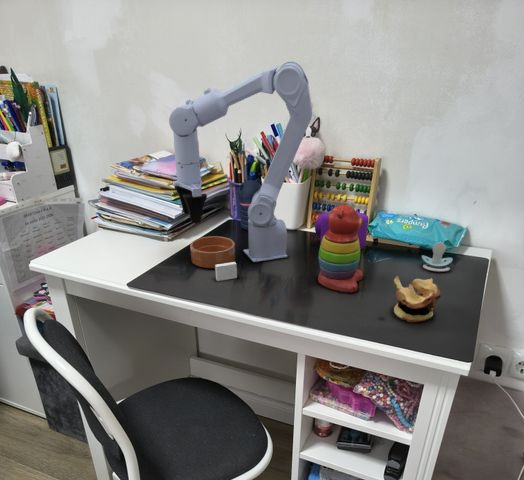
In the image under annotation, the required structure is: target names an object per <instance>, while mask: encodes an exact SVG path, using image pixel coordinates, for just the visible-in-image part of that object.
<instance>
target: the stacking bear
mask: <svg viewBox="0 0 524 480" xmlns="http://www.w3.org/2000/svg"><path fill="white" fill-rule="evenodd" d="M329 212H330V213H329ZM329 212H328V213H329V215H328V225H329V229H330V230H328V231H327V232H326V234H325V235H324V236H323V239H322V242H321V243H320V245H319V249H318V264H319V270H320V271H319V273H318V276H317V281H318V283H319V284H320V285H321V286H323V287H325V288H327V289H330V290H333V291H336V292H339V293H348V294H350V293H351V294H352V293H355V292H357V290H358V289H359V287H358V282H359V281H361V280H363V279H364V278H363V277H364V273H363V272H362V270H360V269H358V266H359V265H360V264H359V263H360V259H361V249H360V244H359V238H358V234H357V233H356V231H357V230H358V229H359V228H360V226H361V224H362V219H361V218H360V216H359V215H358V214H357V213H356V212H357V211H356V209H355V208H354V207H353V206H350V205H347V204H346V202H342V203H341V204H340V205H337V206H335V207H333V208H332V209H331V210H330V211H329Z"/></svg>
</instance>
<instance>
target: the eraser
mask: <svg viewBox="0 0 524 480" xmlns="http://www.w3.org/2000/svg"><path fill="white" fill-rule="evenodd" d="M237 264H238V263H236V261H234V262H230V263H224V264H217V265H215V268H214V269H215V280H216V281H217V282H222V281H226V280H232V279H237V278H238V270H237V269H238V268H237Z"/></svg>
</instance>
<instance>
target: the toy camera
mask: <svg viewBox="0 0 524 480" xmlns="http://www.w3.org/2000/svg"><path fill="white" fill-rule="evenodd" d="M329 213H330V211H329V212H322V213H321V214H320V215H318V217H317V219H316V221H315V225H314V232H315V234H316V236H318V237H320V240H319V241H320V244H321V242H322V239H323V236H324V235H325V234H326V232H327V231H328V230H330V229H329V225H328V215H329ZM356 213H357V214H358V215H359V216H360V218H361V219H362V224H361V226H360V228H359V229H358V230H357V231H356V233H357V234H358V238H359V244H360V250H362V249H364V248H365V246H366V243H367V239H368V237H367V236H368V230H369V229H368V228H369V216H368V215H367V214H366V213H363V212H359V211H356Z"/></svg>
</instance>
